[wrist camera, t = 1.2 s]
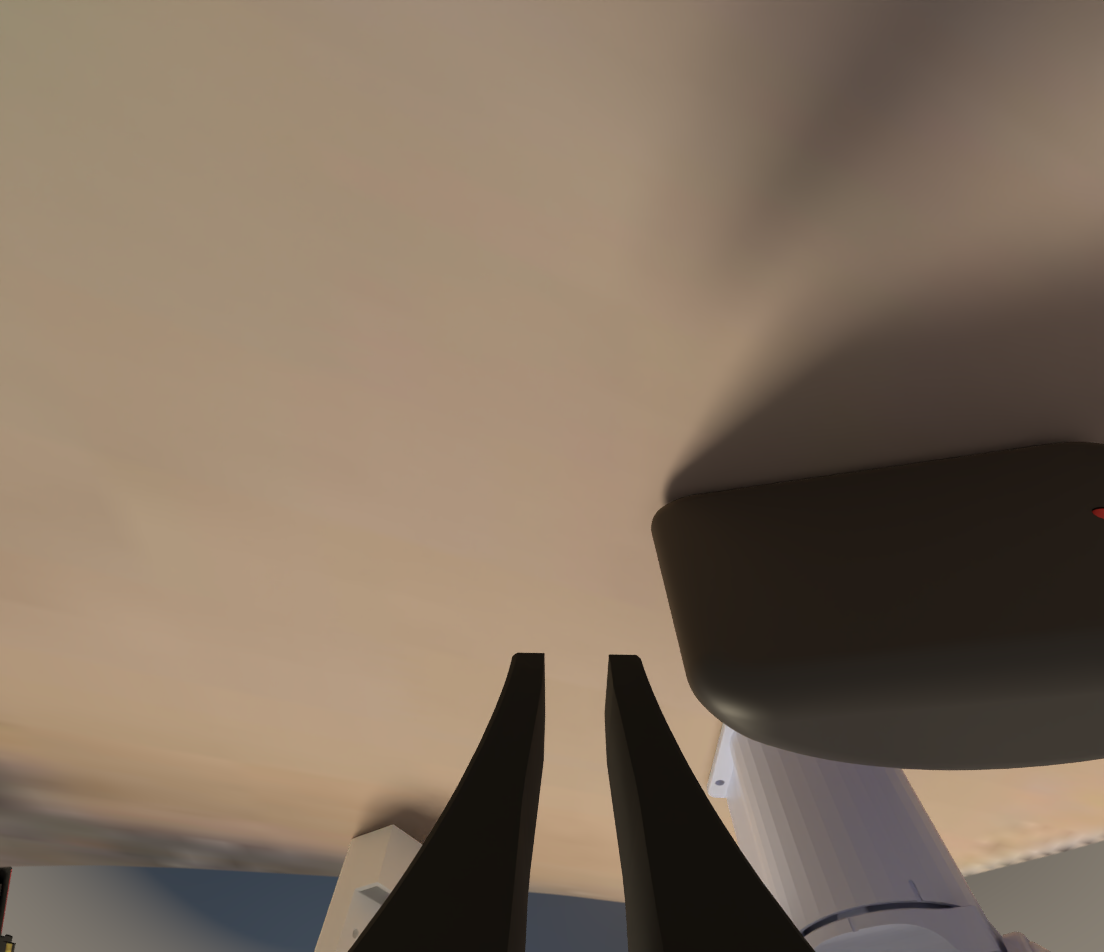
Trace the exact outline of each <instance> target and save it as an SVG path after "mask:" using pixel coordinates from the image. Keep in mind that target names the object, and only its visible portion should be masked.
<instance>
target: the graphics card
mask: <svg viewBox="0 0 1104 952" xmlns="http://www.w3.org/2000/svg"><path fill="white" fill-rule="evenodd" d="M11 873H12V867H0V952H14V949H15V945H16V943H12V938H13V936H11V935H8V934H6V935H5V936H1V934H2V928H3V922H4V916H5V910H6V904H7V898H8V892H9V885H10V879H11Z"/></svg>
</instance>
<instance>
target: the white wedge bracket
mask: <svg viewBox="0 0 1104 952" xmlns="http://www.w3.org/2000/svg"><path fill="white" fill-rule="evenodd" d="M421 847H422V844H421V843H419V842H418V841H417V840H415V839H414V838H412V837H411V836H409V835H408V834H407V833H405V832H404V831H402V830H401V829H399V828H398V827H397V826H395V825H394V824H392V825H390V826H387V827H384V828H381V829H378V830H375V831H373V832H370V833H367V834H364V835H361V836H358V837H356V838H353V839H351V842H350V845H349V848H348V852H347V855H346V858H345V861H344V864H343V867H342V870H341V873H340V876H339V879H338V882H337V885H336V888H335V891H334V894H333V897H332V900H331V903H330V906H329V909H328V912H327V915H326V918H325V921H324V924H323V927H322V930H321V933H320V936H319V939H318V942H317V945H316V948H315V951H314V952H348V950H349V949H350V948H351V947H352V945H353V944H354V942H355V941H356V940H357V938H358V937H359V936H360V934H361V933H362V932H363V930H364V929H365V927H366V926H367V925H368V923H369V922H370V921H371V919H372V918H373V916H374V915H375V914H376V912H377V911H378V910H379V908H380V907H381V906H382V904H383V903H384V901H385V900H386V899H387V897H388V896H389V895H390V893H391V892H392V890H393V889H394V887H395V886H396V884H397V883H398V882H399V880H400V879H401V877H402V876H403V874H404V873H405V871H406V870H407V868H408V867H409V865H410V864H411V862H412V860H413V859H414V857H415V856H416V854H417V853H418V851H419V850H420V848H421Z"/></svg>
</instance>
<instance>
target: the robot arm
mask: <svg viewBox="0 0 1104 952" xmlns="http://www.w3.org/2000/svg"><path fill="white" fill-rule="evenodd" d="M544 733H545V664H544V653H516V654H515V655H514V656H512V661H511V665H510V668H509V672H508V675H507V678H506V681H505V684H504V687H503V689H502V692H501V695H500V697H499V700H498V702H497V705H496V707H495V710H494V712H493V714H492V717H491V719H490V721H489V723H488V726H487V728H486V730H485V732H484V734H483V737H482V739H481V741H480V743H479V745H478V747H477V749H476V751H475V753H474V755H473V757H472V759H471V761H470V763H469V765H468V767H467V769H466V771H465V773H464V775H463V777H462V778H461V780H460V782H459V784H458V786H457V788H456V790H455V791H454V793H453V795H452V797H451V799H450V800H449V802H448V804H447V806H446V807H445V809H444V811H443V812H442V814H441V816H440V817H439V819H438V821H437V822H436V824H435V826H434V827H433V829H432V831H431V832H430V834H429V836H428V837H427V839H426V840H425V842H424V843H423V845H422V847H421V848H420V850H419V851H418V853H417V854H416V856H415V857H414V859H413V860H412V862H411V864H410V865H409V867H408V868H407V870H406V871H405V873H404V874H403V876H402V877H401V879H400V880H399V882H398V883H397V884H396V886H395V887H394V889H393V890H392V892H391V893H390V895H389V896H388V897H387V899H386V900H385V901H384V903H383V904H382V906H381V907H380V908H379V910H378V911H377V912H376V914H375V915H374V916H373V918H372V919H371V921H370V922H369V923H368V925H367V926H366V927H365V929H364V930H363V932H362V933H361V934H360V936H359V937H358V938H357V940H356V941H355V942H354V944H353V945H352V947H351V948H350V949H349V950H348V952H525V943H526V922H527V902H528V889H529V878H530V868H531V860H532V852H533V844H534V835H535V827H536V819H537V811H538V803H539V794H540V786H541V778H542V769H543V761H544ZM605 733H606V754H607V767H608V774H609V781H610V789H611V796H612V803H613V811H614V818H615V825H616V832H617V839H618V847H619V854H620V861H621V868H622V875H623V885H624V894H625V905H626V920H627V937H628V951H629V952H1050V951H1049V950H1047V949H1045V948H1043V947H1042V946H1040V945H1038V944H1036V943H1035V942H1030V941H1029V940H1028V939H1027V937H1026V936H1025V935H1024V934H1022V933H1020V932H1012V933H1008V934H1004V935H1003V937H1002V936H1001V935H1000V933H999V932H998V931H997V930H996V929H995V928H994V926H993V925H992V924H991V923H990V922H989V920H988V919H987V917H986V916H985V914H984V912H983V910H982V909H981V907H980V905H979V903H978V902H977V900H976V898H975V896H974V895H973V893H972V891H971V889H970V888H969V886H968V884H967V882H966V881H965V879H964V877H963V875H962V874H961V872H960V870H959V868H958V867H957V865H956V863H955V861H954V860H953V858H952V856H951V854H950V853H949V851H948V849H947V847H946V846H945V844H944V842H943V840H942V839H941V837H940V835H939V833H938V832H937V830H936V828H935V826H934V825H933V823H932V821H931V819H930V818H929V816H928V814H927V812H926V811H925V809H924V807H923V805H922V804H921V802H920V800H919V798H918V797H917V795H916V793H915V791H914V790H913V788H912V786H911V784H910V783H909V781H908V779H907V777H906V776H905V774H904V772H903V770H902V769H901V768H889V767H877V766H867V765H859V764H852V763H844V762H838V761H832V760H826V759H821V758H816V757H811V756H807V755H802V754H798V753H794V752H790V751H786V750H783V749H779V748H776V747H772V746H769V745H766V744H763V743H760V742H757V741H754V740H752V739H750V738H747V737H745V736H743V735H741V734H740V733H738V732H736V731H734V730H733V729H731V728H730V727H728V726H727V725H725V724H724V723H723V725H722V729H721V733H720V737H719V741H718V745H717V748H716V752H715V756H714V760H713V764H712V768H711V772H710V776H709V780H708V784H707V791H708V794H709V795H710V796H712V797H716V798H726V799H727V803H728V807H729V810H730V814H731V818H732V822H733V826H734V830H735V834H736V838H737V841H738V845H739V847H738V845H737V844H736V842H735V841H734V839H733V838H732V836H731V835H730V833H729V832H728V830H727V829H726V827H725V826H724V824H723V822H722V821H721V819H720V818H719V816H718V814H717V813H716V811H715V810H714V808H713V806H712V805H711V803H710V801H709V800H708V798H707V796H706V795H705V793H704V791H703V789H702V788H701V786H700V784H699V783H698V781H697V779H696V777H695V776H694V774H693V772H692V770H691V768H690V767H689V765H688V763H687V761H686V759H685V757H684V756H683V754H682V752H681V750H680V748H679V746H678V744H677V742H676V740H675V738H674V736H673V734H672V732H671V730H670V728H669V726H668V724H667V722H666V720H665V718H664V716H663V714H662V711H661V709H660V707H659V705H658V702H657V700H656V698H655V696H654V693H653V691H652V688H651V686H650V684H649V681H648V678H647V676H646V673H645V670H644V667H643V664H642V661H641V659H640V658H639V657H638V656H637V655H609V662H608V675H607V689H606V702H605Z"/></svg>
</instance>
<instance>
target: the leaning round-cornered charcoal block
mask: <svg viewBox="0 0 1104 952" xmlns="http://www.w3.org/2000/svg"><path fill="white" fill-rule="evenodd" d="M651 531H652V536H653V540H654V544H655V548H656V552H657V556H658V561H659V565H660V569H661V573H662V577H663V581H664V585H665V590H666V594H667V598H668V602H669V606H670V610H671V614H672V619H673V623H674V627H675V631H676V635H677V639H678V643H679V647H680V652H681V656H682V660H683V664H684V668H685V672H686V676H687V680H688V683H689V685H690V687H691V689H692V691H693V693H694V695H695V696H696V698H697V699H698V700H699V701H700V703H701V704H702V705H703V706H704V707H705V708H706V709H707V710H708V711H709V712H710V713H712V714H713V715H714V716H715V717H716V718H717V719H719V720H720V721H721V722H723V723H724V724H725V725H727V726H728V727H730V728H731V729H733V730H734V731H736V732H738V733H740V734H741V735H743V736H745V737H747V738H750V739H752V740H754V741H757V742H760V743H763V744H766V745H769V746H772V747H776V748H779V749H783V750H786V751H790V752H794V753H798V754H802V755H807V756H811V757H816V758H821V759H826V760H832V761H838V762H844V763H852V764H859V765H867V766H877V767H889V768H901V769H922V770H985V769H1009V768H1022V767H1035V766H1047V765H1056V764H1065V763H1074V762H1082V761H1089V760H1096V759H1103V758H1104V444H1100V443H1089V442H1064V443H1053V444H1046V445H1039V446H1032V447H1025V448H1018V449H1011V450H1004V451H998V452H991V453H984V454H977V455H970V456H963V457H956V458H949V459H942V460H935V461H928V462H921V463H914V464H907V465H900V466H893V467H886V468H879V469H872V470H865V471H858V472H851V473H844V474H837V475H830V476H823V477H816V478H809V479H802V480H796V481H789V482H782V483H775V484H768V485H761V486H754V487H747V488H740V489H733V490H726V491H719V492H712V493H705V494H698V495H692V496H687V497H683V498H680V499H678V500H675V501H673V502H671V503H669V504H667V505H665V506H664V507H662V508H661V509H660V510H659V511H658V512H657V513H656V514H655V516H654V518H653V520H652V525H651Z"/></svg>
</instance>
